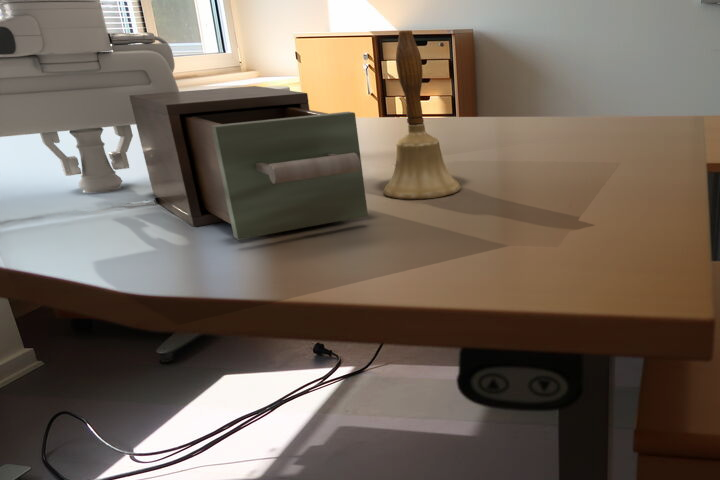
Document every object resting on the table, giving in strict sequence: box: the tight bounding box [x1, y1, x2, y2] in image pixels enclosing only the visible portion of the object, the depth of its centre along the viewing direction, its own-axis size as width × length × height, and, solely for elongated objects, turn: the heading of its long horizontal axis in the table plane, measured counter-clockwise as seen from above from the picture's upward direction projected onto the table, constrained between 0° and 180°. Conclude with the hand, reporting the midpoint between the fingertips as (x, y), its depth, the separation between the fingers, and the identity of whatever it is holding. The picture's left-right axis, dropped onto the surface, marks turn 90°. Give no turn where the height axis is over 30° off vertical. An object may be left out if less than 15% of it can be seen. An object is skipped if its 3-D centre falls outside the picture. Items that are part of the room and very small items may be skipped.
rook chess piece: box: [68, 128, 123, 194], centre depth 81 cm, size 4×4×8 cm
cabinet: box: [129, 85, 311, 228], centre depth 75 cm, size 15×13×11 cm
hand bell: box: [383, 30, 461, 200], centre depth 77 cm, size 8×8×16 cm
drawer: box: [180, 106, 369, 241], centre depth 65 cm, size 18×12×9 cm, turn 38°
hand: (97, 171), depth 81 cm, fingers closed on rook chess piece, 3 cm apart
